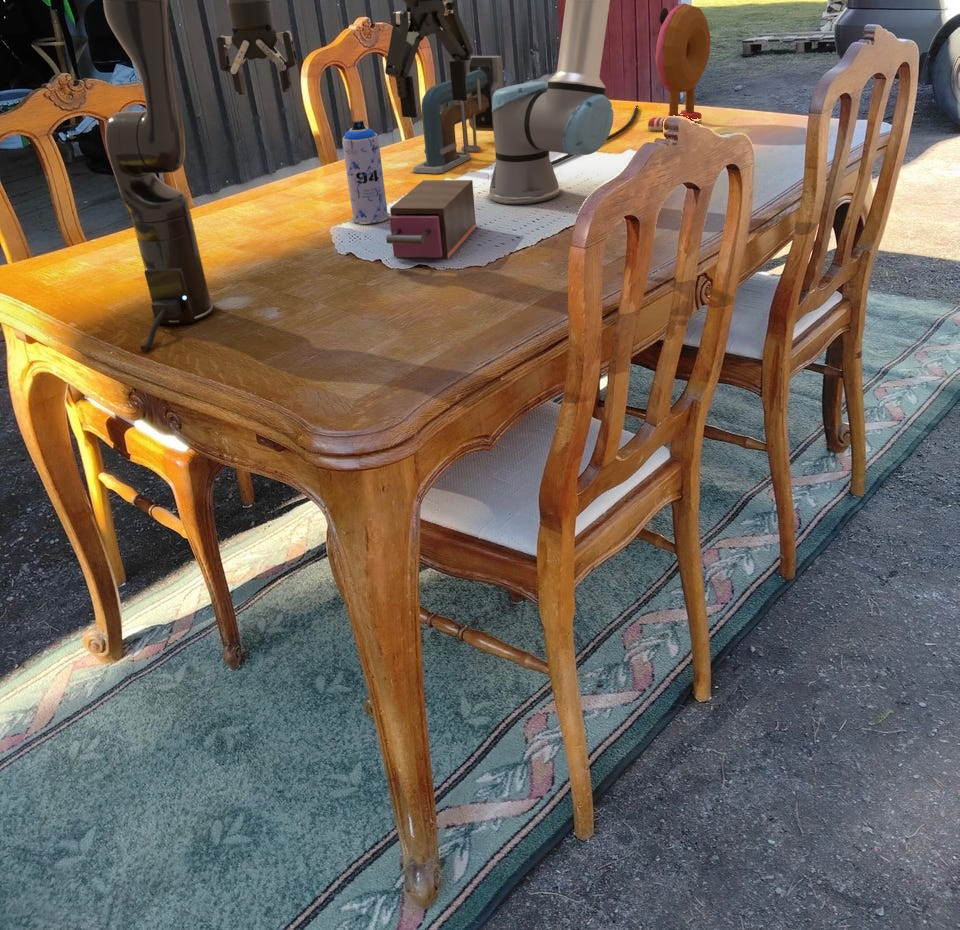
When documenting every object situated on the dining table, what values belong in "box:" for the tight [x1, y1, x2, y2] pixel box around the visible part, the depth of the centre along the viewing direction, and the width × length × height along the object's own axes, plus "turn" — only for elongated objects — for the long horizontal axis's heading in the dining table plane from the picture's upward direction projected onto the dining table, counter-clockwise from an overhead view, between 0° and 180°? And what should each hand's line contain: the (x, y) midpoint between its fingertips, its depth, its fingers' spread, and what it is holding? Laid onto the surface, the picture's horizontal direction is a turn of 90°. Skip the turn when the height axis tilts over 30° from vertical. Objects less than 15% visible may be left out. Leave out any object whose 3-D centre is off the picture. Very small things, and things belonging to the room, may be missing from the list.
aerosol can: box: [342, 120, 390, 225], centre depth 201 cm, size 8×8×20 cm
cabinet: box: [389, 179, 477, 260], centre depth 187 cm, size 19×10×10 cm, turn 164°
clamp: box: [412, 55, 504, 175], centre depth 244 cm, size 35×9×21 cm, turn 151°
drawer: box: [385, 214, 442, 258], centre depth 182 cm, size 24×9×7 cm, turn 164°
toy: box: [647, 2, 711, 131], centre depth 254 cm, size 21×10×30 cm, turn 141°
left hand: (264, 92), depth 184 cm, fingers open, 8 cm apart
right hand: (435, 108), depth 169 cm, fingers open, 13 cm apart
